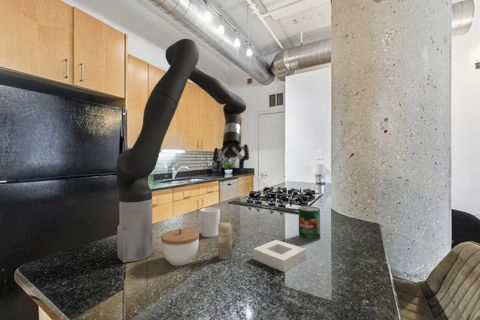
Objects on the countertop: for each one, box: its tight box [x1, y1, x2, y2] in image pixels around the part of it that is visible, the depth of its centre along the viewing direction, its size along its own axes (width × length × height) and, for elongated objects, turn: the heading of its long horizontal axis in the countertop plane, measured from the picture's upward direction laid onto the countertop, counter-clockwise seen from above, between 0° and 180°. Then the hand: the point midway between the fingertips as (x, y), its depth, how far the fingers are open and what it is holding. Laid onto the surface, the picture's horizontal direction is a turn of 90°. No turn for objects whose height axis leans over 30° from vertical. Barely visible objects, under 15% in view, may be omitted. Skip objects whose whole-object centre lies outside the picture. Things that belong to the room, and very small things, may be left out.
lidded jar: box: [160, 227, 200, 267], centre depth 65 cm, size 11×11×9 cm
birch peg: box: [217, 221, 233, 261], centre depth 68 cm, size 4×4×10 cm
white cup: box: [199, 206, 221, 238], centre depth 88 cm, size 8×8×10 cm
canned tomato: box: [297, 205, 322, 242], centre depth 85 cm, size 8×8×11 cm
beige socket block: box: [252, 239, 307, 273], centre depth 66 cm, size 11×11×3 cm
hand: (229, 170), depth 85 cm, fingers open, 8 cm apart
